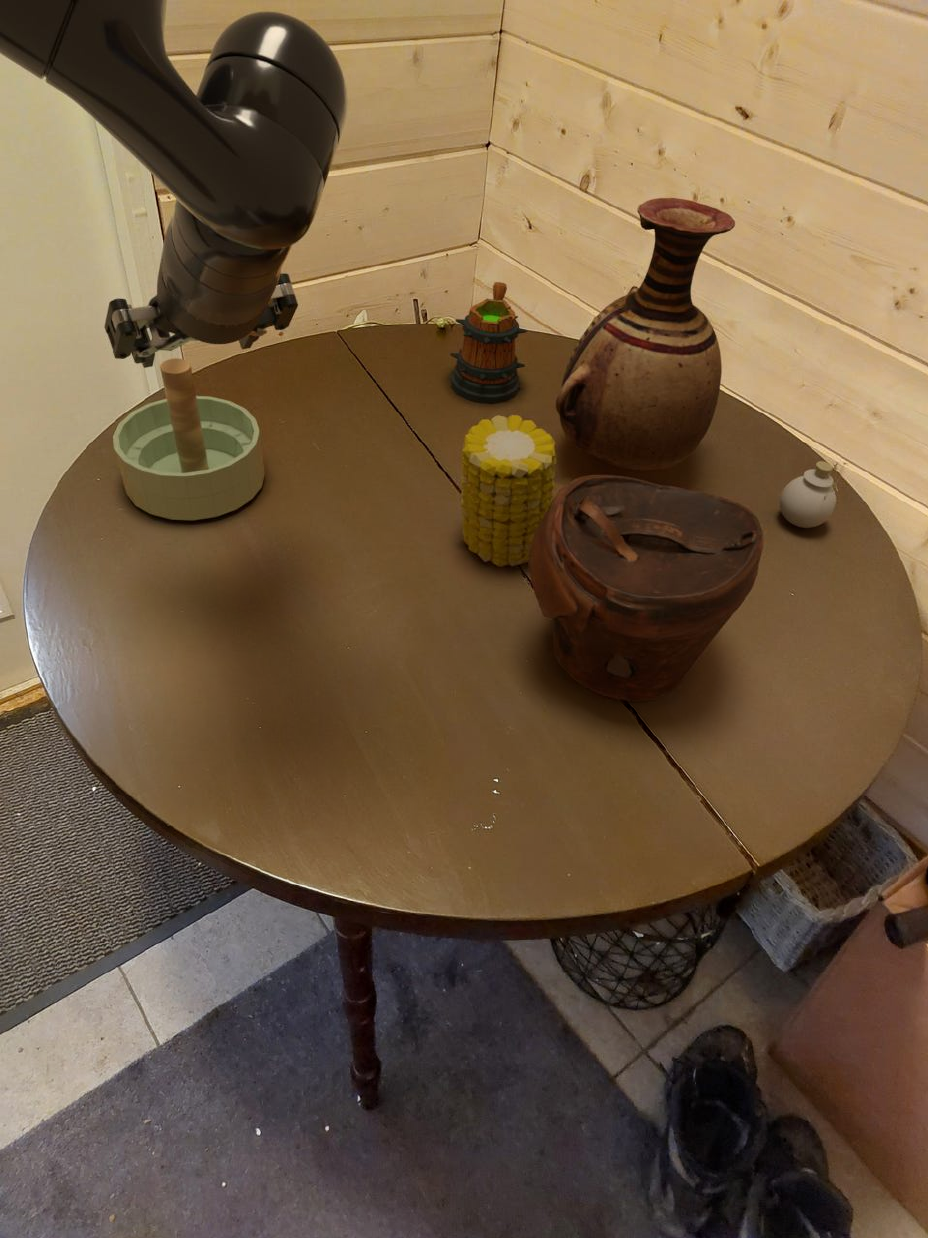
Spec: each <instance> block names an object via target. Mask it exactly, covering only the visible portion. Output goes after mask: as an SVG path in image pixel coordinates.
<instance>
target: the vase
mask: <svg viewBox="0 0 928 1238" xmlns="http://www.w3.org/2000/svg"><path fill="white" fill-rule="evenodd" d="M636 211H637V213H638V215H639V220H640V221H639V222H640V223H639V224H640V227H641V228H642V229H643V230H645V231H651V230H653V232H654V246H653V249H652V250H653V251H652V255H651V259H650V262H649V265H648V269H647V271H646V273H645V277H644V278H643V281H642V282H641V284H640V286H639V287H638V286H637V285H634V286H631V288H630V290H629V291H628V292H627V294H625V295H623V296H621V297H618V298H617V299H615V300H614V301H612V302H611V303H609V304H608V305H606V306H605V307H604V309H602V310H601V311H600V312H599V313H598V315H596V317H594V319H593V320H592V322H591V323H590V324H589V325H588V327H587V328H586V330H585V331H584V332H583V334H582V335H581V337H580V338H579V340H578V341H577V343H576V345H575V347H574V349H573V351H572V353H571V355H570V358H569V359H568V362H567V364H566V367H565V371H564V374H563V378H562V380H561V381H562V382H561V387H560V389H559V392H558V394H557V397H556V399H555V411H556V412H557V414H558V415H559V422H560V426H561V428H562V430H563V433H564V435H565V436H566V438H567V439H568V441H570V443H571V444H572V445H573V446H574V447H576V448H577V449H578V450H580V451H582V452H583V453H585V454H587V455H589V456H591V457H592V458H594V459H597V460H599V461H601V462H603V463H606V464H608V465H611V466H613V467H614V466H615V467H617V468H622V469H625V470H626V469H627V470H631V471H633V470H634V471H659V470H665V469H668V468H671V467H673V466H675V465H677V464H679V463H681V462H683V461H684V460H685V459H687V458H688V457H689V456H690V455H691V454H693V452H694V451H695V450H696V449H697V448H698V446H699V445H700V444H701V442H702V441H703V440H704V438H705V436H706V434H707V433H708V430H709V429H710V426H711V424H712V421H713V418H714V417H715V416H714V415H715V412H716V409H717V405H718V400H719V395H720V390H721V383H722V371H723V369H722V367H723V365H722V355H721V349H720V344H719V341H718V337H717V334H716V331H715V329H714V327H713V325H712V323H711V321H710V320H709V318H708V317H707V315H706V314H705V313H703V311H701V309H700V308H698V307H697V306H696V305H694V304H693V303H694V302H693V300H692V284H693V279H694V274H695V271H696V267H697V264H698V261H699V259H700V256H701V254H702V252H703V250H704V248H705V246H706V245H707V243H708V242H709V241H710V240H711V238H713V237H714V236H717V235H722V234H726V233H728V232H731V231H732V230H733V229H734V228H735V227H736V221H735V220H734V219H733V217H732V216H731V215H730V214H729V213H727V212H725V211H722V210H720V209H719V208H715V207H713V206H709V205H707V204H703V203H700V202H698V201H695V200H694V201H693V200H691V199H690V200H689V199H685V198H684V199H683V198H677V197H658V198H652V199H649V200H647V201H644V202H643V203H641V204H640V205H638V207H637V210H636Z"/></svg>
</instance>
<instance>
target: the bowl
mask: <svg viewBox="0 0 928 1238" xmlns="http://www.w3.org/2000/svg"><path fill="white" fill-rule="evenodd" d="M196 398H197V403H198V409H199V415H200V420H201V426H202V432H203V437H204V443H205V449H206V454H207V460H208V466H209V469H208V470H201V471H194V472H187V473H182V472H181V467H180V462H179V457H178V452H177V447H176V442H175V438H174V433H173V428H172V423H171V418H170V413H169V408H168V404H167V399H166V398H163V399H160V400H157V401H153V402H150V403H146V404H145V405H143V406H141V407H139V408H137V409H136V410H134V411H132V412H130V413H129V414H127V416H125V417H124V418H123V419H122V420H120V422H119V423H118V424H117V427H116V429H115V431H114V433H113V436H112V442H113V449H114V454H115V458H116V461H117V465H118V468H119V472H120V476H121V479H122V483H123V487H124V491H125V494H126V496H127V497H128V498H129V499H130V501H131V502H132V503H133V505H134V506H136V507H137V508H140V509H141V510H143V511H144V512H146V513H148V514H149V515H153V516H156V517H160V518H164V519H167V520H174V521H175V520H176V521H198V520H199V521H200V520H205V519H210V518H217V517H220V516H222V515H226V514H228V513H230V512H233V511H236V510H238V509H239V508H241V507H242V506H244V505H246V504H247V503H248V502H250V501H251V500H253V499H254V497H255V496H256V495H257V494H258V493H259V491H260V490H261V489H262V487H263V484H264V480H265V474H266V472H265V464H264V463H265V462H264V455H263V447H262V440H261V439H262V438H261V430H260V428H259V424H258V421H257V419H256V417H255V416H254V415H253V414H251V412H250V411H249V410H247V409H246V408H245V407H243V406H241V405H239V404H236V403H234V402H233V401H230V400H227V399H223V398H218V397H214V396H207V395H205V396H204V395H196Z"/></svg>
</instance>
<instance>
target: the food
mask: <svg viewBox="0 0 928 1238" xmlns="http://www.w3.org/2000/svg"><path fill="white" fill-rule="evenodd" d="M556 444H557V443H556V442H555V440H554V438H553V437H552V436H551V434H550V433H548V432H547V431H545V430H544V429H543V428H538V427H537V425H536V424H535V422H534V421H533V420H531V419H530V420H529V419H528V420H526V419H525V420H523V418H522V417H521V416H520V415H518V414H517V415H516V414H510V415H509V416H508V417H506V416H503V415H500V414H497V415H495V416H493V417H492V418H491V419H489V418H488V419H486V418H485V419H483V418H482V419H481V420H480V421H479V422H478V424H477V425H472V426H471V427H470V428H469V430H468V431H467V434H465V435H464V439H463V443H462V449H461V455H462V458H461V459H462V460H461V464H462V465H461V470H462V474H461V476H460V480H461V481H462V482H461V489H462V490H461V493H460V496H461V498H462V499H461V508H462V509H461V511H462V512H461V514H462V523H461V527H462V535H463V542H464V543H465V544H466V545H467V546H468V550H469V551H470V552H471V553H473V554H477V556H479V558H480V559H481V560H482V561H483V562H484V563H488V562H490V561H491V562H492V564H493V565H495V566H497V567H500V568H503V567H505V566H507V565H509V566H511V567H515V566H517V565H521V564H526V563H529V554H530V548H531V545H532V540H533V537H534V534H535V531H536V529H537V527H538V525H539V523H540V522H541V520H542V519H543V517H544V515H545V514H546V512H547V510H548V509H549V507H550V505H551V503H552V501H553V499H554V493H553V490H554V488H555V482H554V480H555V475H556V472H555V471H554V470H555V466H556V465H557V459H556V456H557V455H556V450H555V446H556Z"/></svg>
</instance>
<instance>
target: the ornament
mask: <svg viewBox="0 0 928 1238" xmlns="http://www.w3.org/2000/svg"><path fill="white" fill-rule="evenodd" d="M838 463H839V462H836V464H835V463H833V465H832V464H831V463H829V462H827V461H823V460H820V461H817V462H816V464H815V468H814V469H807V470H806V471H804V473H803V475H801V476H798V477H796V478H794V479H792V480H790V481H789V482H788V483H787V484H786V485H785V486H784V488H783V489H782V491H781V494H780V498H779V509H780V512H781V514H782V516H783V517H784V519H785V520H786V521H787V522H788V523H790V525H793V526H794V527H798V528H804V529H810V528H815V527H818V526H820V525H822V524H824V523H825V522H827V521H828V520H829V519H830V518H831V516H833V515H832V514H833V513H834V511H835V509H836V504H837V495H836V491H837V492H838V491H839V490H838V487H837V485H838V482H839V479H837V480H836V482H834V478H833V477H832V476H831V475H830V473H831V472H832V473H834V472H835V471H836V472H838V468H837V467H838ZM835 490H836V491H835Z"/></svg>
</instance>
